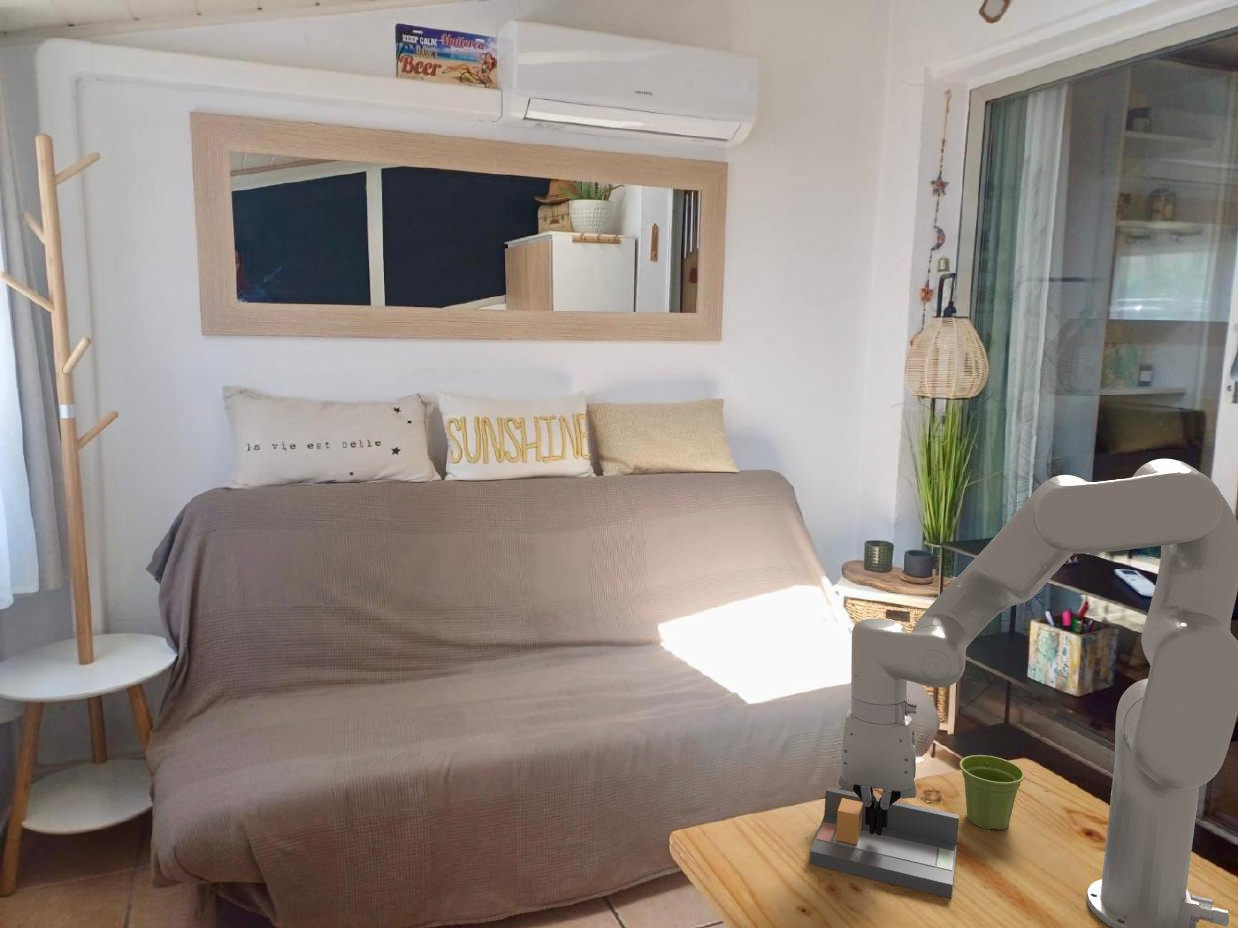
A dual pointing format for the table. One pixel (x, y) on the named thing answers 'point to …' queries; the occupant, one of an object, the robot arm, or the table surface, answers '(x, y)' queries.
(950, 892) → the switch panel
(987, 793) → the plant pot
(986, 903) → the table surface
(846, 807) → the handle
